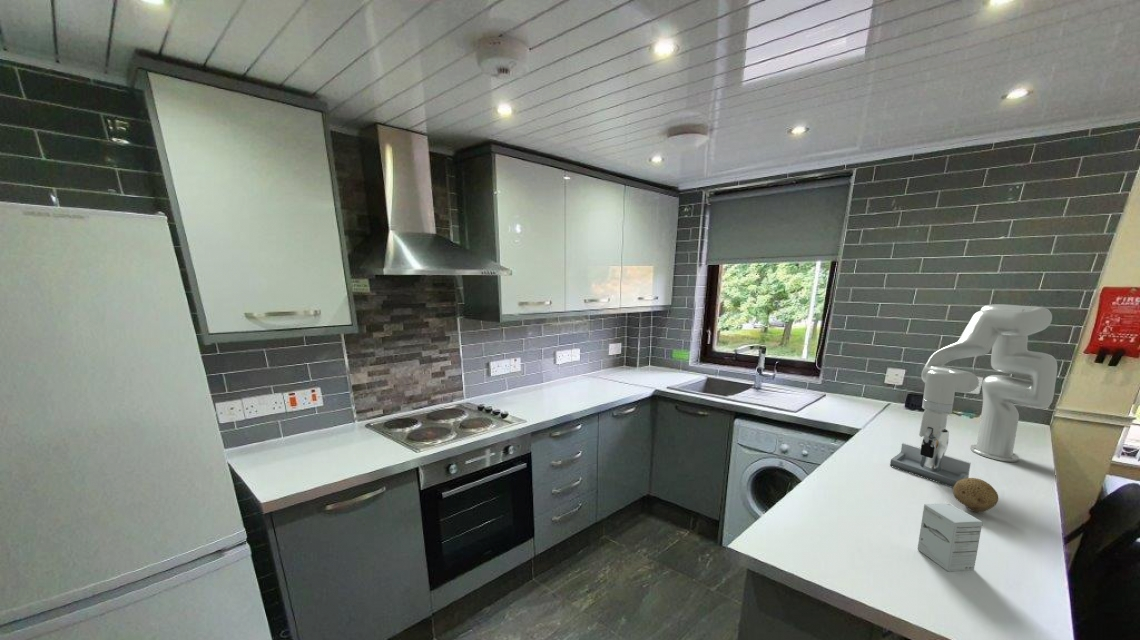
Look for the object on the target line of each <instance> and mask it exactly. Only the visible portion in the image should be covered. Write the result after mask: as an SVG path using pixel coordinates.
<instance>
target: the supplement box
mask: <svg viewBox="0 0 1140 640" xmlns="http://www.w3.org/2000/svg"><path fill="white" fill-rule="evenodd" d="M921 516H922V518H921V522H920V532H919V535H918V536H919V537H918V543H917V544H918V545H917V551H919V552H920V553H922V554H923V555H925V556H926V557H928V558H929V559H930V560H932V561H933V562H934V563H936V564H937V565H938V566H939V567H941V568H942V569H944V570H945V571H946V572H959V571H960V572H962V571H973V570H975V566H976V560H977V555H978V550H979V545H980V544H979V543H980V537H981V532H982V528H983V527H982V526H983V521H982V520H980V519H978V518H977V517H975V516H973V515H971V514H969V513H967V512H966V511H964V510H963V509H960V508H958V507H956V505H953V504H952V503H949V502H940V503H925V504H924V505H923V511H922V515H921Z"/></svg>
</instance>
